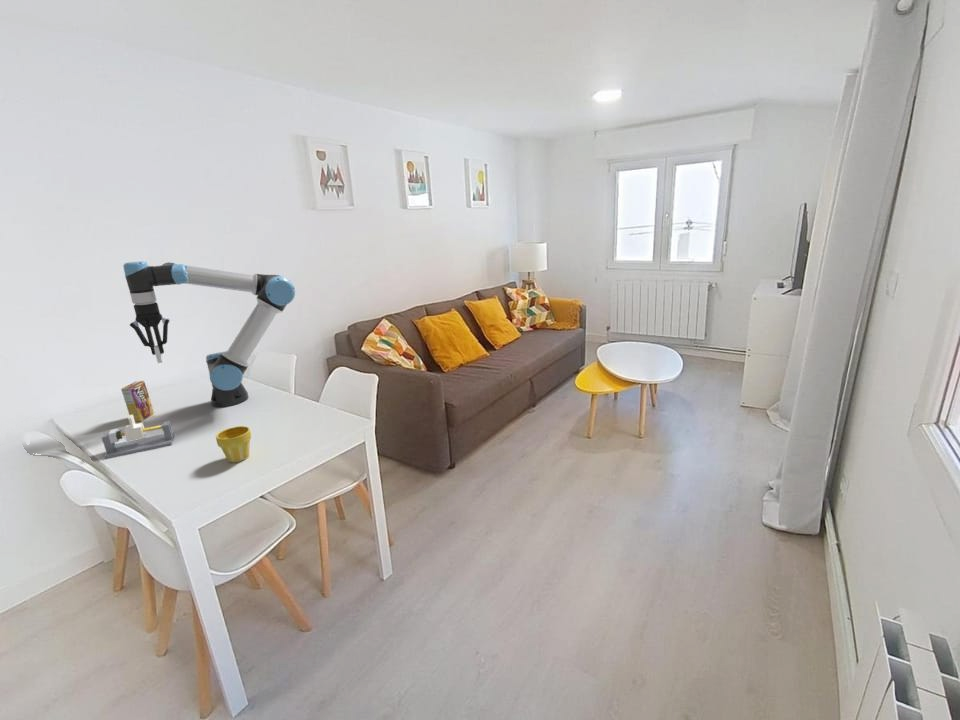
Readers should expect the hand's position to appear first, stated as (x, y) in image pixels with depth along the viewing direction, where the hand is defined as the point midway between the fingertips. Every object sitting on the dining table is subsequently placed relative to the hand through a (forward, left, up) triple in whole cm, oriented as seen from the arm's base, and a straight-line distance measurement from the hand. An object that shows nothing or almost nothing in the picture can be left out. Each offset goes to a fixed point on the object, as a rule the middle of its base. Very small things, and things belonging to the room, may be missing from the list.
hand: (160, 361), depth 181 cm
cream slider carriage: (+5, +20, -23) cm, 31 cm away
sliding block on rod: (+4, +20, -26) cm, 33 cm away
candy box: (+17, -10, -27) cm, 33 cm away
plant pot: (-35, +40, -27) cm, 59 cm away
